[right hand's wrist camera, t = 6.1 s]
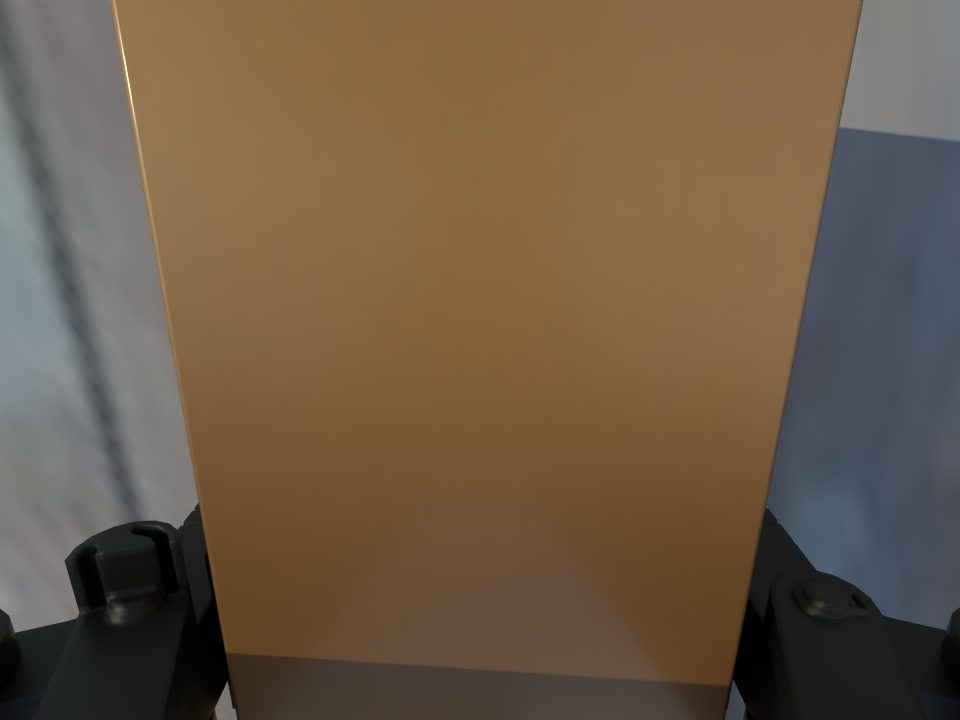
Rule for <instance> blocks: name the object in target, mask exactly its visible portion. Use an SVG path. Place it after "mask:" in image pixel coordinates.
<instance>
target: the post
mask: <svg viewBox="0 0 960 720" xmlns="http://www.w3.org/2000/svg"><path fill="white" fill-rule="evenodd" d="M110 3H111V9H112V14H113V20H114V25H115V31H116V37H117V42H118V48H119V54H120V59H121V65H122V71H123V76H124V82H125V88H126V93H127V99H128V105H129V110H130V116H131V121H132V127H133V133H134V138H135V144H136V150H137V155H138V161H139V167H140V172H141V178H142V184H143V189H144V195H145V200H146V206H147V212H148V217H149V223H150V229H151V234H152V240H153V246H154V251H155V257H156V263H157V268H158V274H159V280H160V285H161V291H162V296H163V302H164V308H165V313H166V319H167V325H168V330H169V336H170V342H171V347H172V353H173V359H174V364H175V370H176V376H177V381H178V387H179V392H180V398H181V404H182V409H183V415H184V421H185V426H186V432H187V438H188V443H189V449H190V455H191V460H192V466H193V472H194V477H195V483H196V488H197V494H198V500H199V505H200V511H201V517H202V522H203V528H204V534H205V539H206V545H207V551H208V556H209V562H210V568H211V573H212V579H213V584H214V590H215V596H216V601H217V607H218V613H219V618H220V624H221V630H222V635H223V641H224V647H225V652H226V658H227V664H228V669H229V675H230V680H231V686H232V692H233V697H234V703H235V709H236V714H237V720H725V715H726V710H727V705H728V700H729V694H730V689H731V684H732V679H733V674H734V668H735V663H736V658H737V653H738V648H739V642H740V637H741V632H742V627H743V622H744V617H745V611H746V606H747V601H748V596H749V591H750V585H751V580H752V575H753V570H754V565H755V560H756V554H757V549H758V544H759V539H760V534H761V528H762V523H763V518H764V513H765V508H766V503H767V497H768V492H769V487H770V482H771V477H772V471H773V466H774V461H775V456H776V451H777V445H778V440H779V435H780V430H781V425H782V420H783V414H784V409H785V404H786V399H787V394H788V388H789V383H790V378H791V373H792V368H793V363H794V357H795V352H796V347H797V342H798V337H799V331H800V326H801V321H802V316H803V311H804V306H805V300H806V295H807V290H808V285H809V280H810V274H811V269H812V264H813V259H814V254H815V249H816V243H817V238H818V233H819V228H820V223H821V217H822V212H823V207H824V202H825V197H826V191H827V186H828V181H829V176H830V171H831V166H832V160H833V155H834V150H835V145H836V140H837V134H838V129H839V124H840V119H841V114H842V109H843V103H844V98H845V93H846V88H847V83H848V77H849V72H850V67H851V62H852V57H853V52H854V46H855V41H856V36H857V31H858V26H859V20H860V15H861V10H862V5H863V0H110Z"/></svg>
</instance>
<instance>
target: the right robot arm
mask: <svg viewBox="0 0 960 720" xmlns="http://www.w3.org/2000/svg"><path fill="white" fill-rule="evenodd" d="M65 564H66V567H67V571H68V574H69V578H70V581H71V584H72V588H73V591H74V595H75V598H76V602H77V605H78V609H79V612H80V613H79V615H78V618H76V619H73V620H70V621H66V622H62V623H57V624H53V625H48V626H44V627H39V628H35V629H30V630H26V631H21V632H17V633H15V632H14V629H13V626H12V623H11V620H10V617H9V615H7V614H6V613H5V612H4V611H2V610H1V609H0V720H217V717H216V713H215V707H216V704H217V702H218V700H219V698H220V696H221V694H222V692H223V689H224V687H225V685H226V683H227V681H228V685H229V690H230V695H231V701H232V706H233V709H235V703H234V697H233V692H232V686H231V680H230V675H229V669H228V664H227V658H226V652H225V647H224V641H223V635H222V630H221V624H220V618H219V613H218V607H217V601H216V596H215V590H214V584H213V579H212V573H211V568H210V562H209V556H208V551H207V545H206V539H205V534H204V528H203V522H202V517H201V511H200V505H199V503H198V504H197V506H196V507H195V511H192V512H191V513H190V515H189V516H188V517H187V519H186V520H185V521H184V525H183V526H180V528H179V529H178V530H177V529H175V528H174V527H173V526H172V525H171V524H168V523H164V522H159V521H137V522H131V523H127V524H123V525H119V526H115V527H112V528H110V529H108V530H105V531H103V532H101V533H98V534H96V535H94V536H92V537H90V538H89V539H88V540H86V541H85V542H83V543H82V544H80V545H79V546H77V547H76V548H75V549H74V550H73V551H72V552H71V554H70V555H69V556H68V557H67V558H66V560H65ZM733 679H734V681H735V683H736V686H737V688H738V690H739V692H740V694H741V696H742V698H743V701H744V703H745V705H746V708H745V713H744V717H743V720H960V608H958V609H957V610H956V611H954V612H953V613H952V615H951V618H950V621H949V624H948V627H947V630H942V629H938V628H933V627H928V626H924V625H919V624H915V623H910V622H906V621H901V620H897V619H893V618H890V617H886V616H883V615H882V614H881V612H880V611H879V609H878V608H877V607H876V605H875V604H874V602H873V601H872V600H871V598H870V597H868V596H867V595H866V594H865V593H863V592H862V591H861V590H859V589H858V588H857V587H856V586H854V585H852V584H850V583H848V582H846V581H844V580H842V579H840V578H838V577H836V576H834V575H830V574H827V573H823V572H820V571H816V569H815V568H814V567H813V565H812V564H811V563H810V562H809V560H808V559H807V558H806V556H805V555H804V554H803V553H802V551H801V550H800V549H799V548H798V546H797V545H796V544H795V542H794V541H793V540H792V539H791V537H790V536H789V535H788V533H787V532H786V531H785V530H784V528H783V527H782V526H781V524H777V519H776V518H775V517H774V516H773V514H772V513H771V512H770V510H769V509H766V508H765V513H764V518H763V523H762V528H761V534H760V539H759V544H758V549H757V554H756V560H755V565H754V570H753V575H752V580H751V585H750V591H749V596H748V601H747V606H746V611H745V617H744V622H743V627H742V632H741V637H740V642H739V648H738V653H737V658H736V663H735V668H734V674H733ZM733 679H732V682H733ZM731 687H732V684H731ZM730 692H731V689H730ZM729 697H730V694H729ZM728 703H729V700H728ZM727 708H728V705H727Z"/></svg>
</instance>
